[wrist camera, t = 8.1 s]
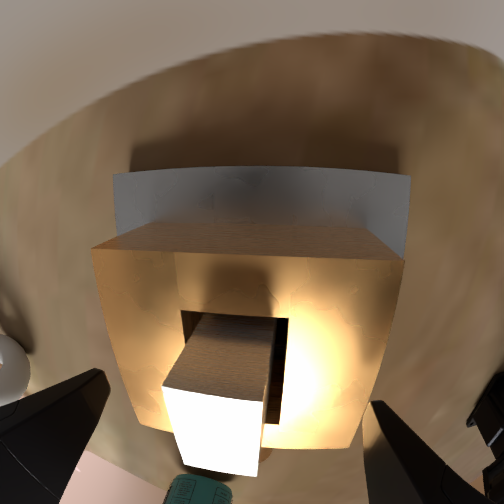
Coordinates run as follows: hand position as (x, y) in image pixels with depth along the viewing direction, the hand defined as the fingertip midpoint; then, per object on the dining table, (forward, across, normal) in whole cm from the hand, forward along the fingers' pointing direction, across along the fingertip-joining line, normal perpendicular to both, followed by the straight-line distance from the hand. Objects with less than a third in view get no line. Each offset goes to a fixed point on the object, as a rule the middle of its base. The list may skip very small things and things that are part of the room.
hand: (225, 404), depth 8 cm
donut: (+8, +26, +9) cm, 29 cm away
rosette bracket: (+7, 0, 0) cm, 7 cm away
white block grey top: (+7, 0, 0) cm, 7 cm away
